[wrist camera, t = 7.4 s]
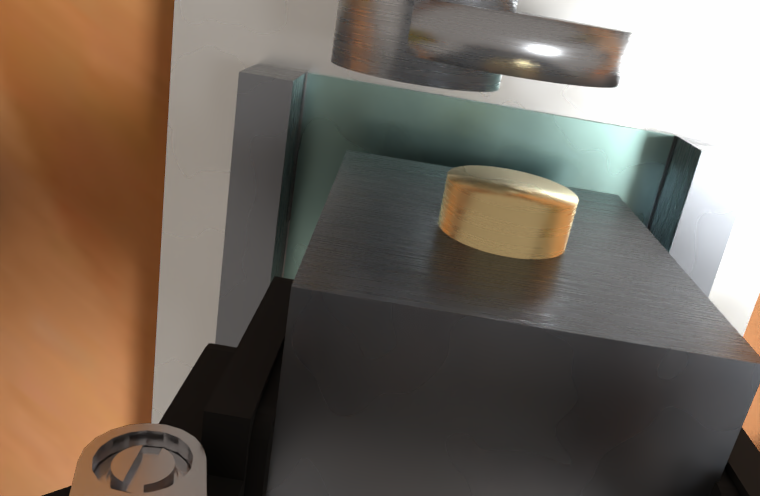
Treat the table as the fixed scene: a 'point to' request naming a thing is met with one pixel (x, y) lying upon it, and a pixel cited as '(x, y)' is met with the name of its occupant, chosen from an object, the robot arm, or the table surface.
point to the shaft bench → (448, 131)
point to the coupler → (498, 345)
